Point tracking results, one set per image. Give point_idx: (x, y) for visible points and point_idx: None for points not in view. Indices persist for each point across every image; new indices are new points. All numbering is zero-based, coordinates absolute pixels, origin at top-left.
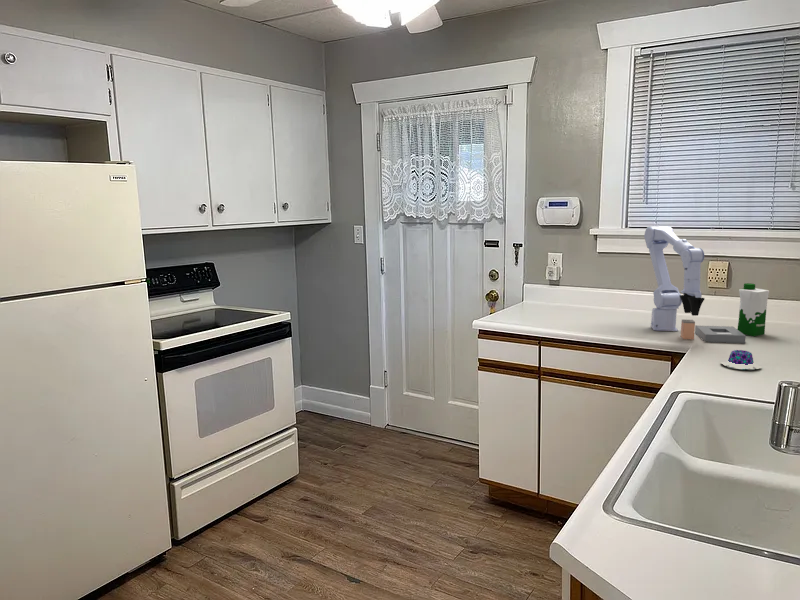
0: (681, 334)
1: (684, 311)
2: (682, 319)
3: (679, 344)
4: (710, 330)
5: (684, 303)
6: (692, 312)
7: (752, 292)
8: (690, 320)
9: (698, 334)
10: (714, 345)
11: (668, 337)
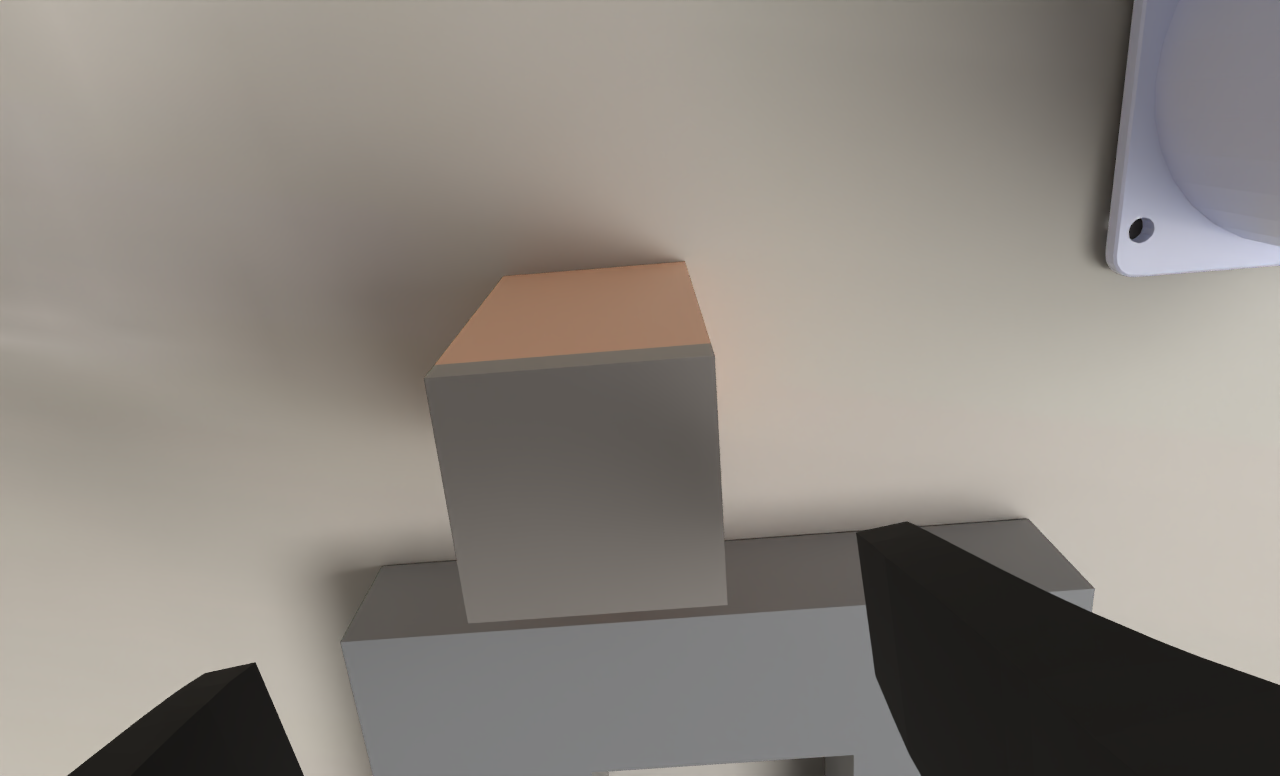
0: (625, 276)
1: (915, 531)
2: (710, 374)
3: (41, 165)
4: (686, 750)
5: (1061, 746)
6: (122, 749)
7: None
8: (619, 548)
9: (792, 549)
10: (211, 649)
11: (559, 25)
